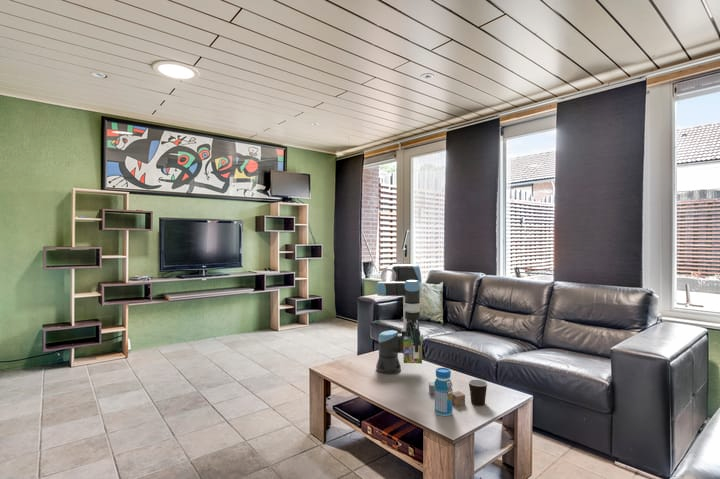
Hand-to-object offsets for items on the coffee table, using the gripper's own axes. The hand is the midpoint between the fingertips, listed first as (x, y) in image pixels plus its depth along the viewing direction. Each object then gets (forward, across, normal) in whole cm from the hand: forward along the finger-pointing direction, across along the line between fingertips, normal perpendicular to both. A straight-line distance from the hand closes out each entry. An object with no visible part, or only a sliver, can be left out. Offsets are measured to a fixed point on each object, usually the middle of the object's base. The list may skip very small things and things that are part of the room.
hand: (412, 354), depth 195 cm
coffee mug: (+23, +9, +31) cm, 39 cm away
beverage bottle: (+22, +17, +10) cm, 30 cm away
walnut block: (+22, +9, +20) cm, 31 cm away
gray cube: (+23, -5, +13) cm, 26 cm away
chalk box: (+3, 0, 0) cm, 3 cm away
